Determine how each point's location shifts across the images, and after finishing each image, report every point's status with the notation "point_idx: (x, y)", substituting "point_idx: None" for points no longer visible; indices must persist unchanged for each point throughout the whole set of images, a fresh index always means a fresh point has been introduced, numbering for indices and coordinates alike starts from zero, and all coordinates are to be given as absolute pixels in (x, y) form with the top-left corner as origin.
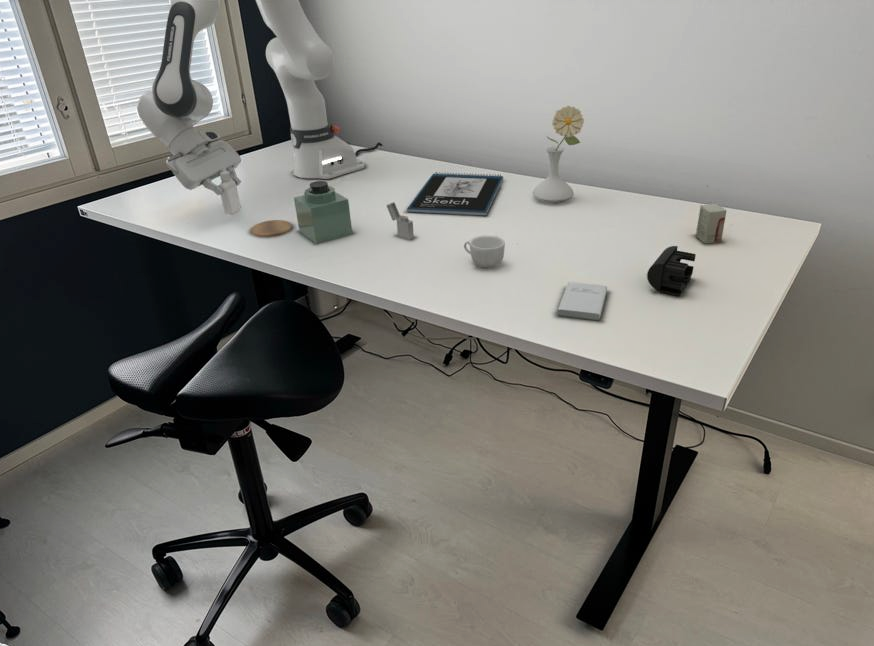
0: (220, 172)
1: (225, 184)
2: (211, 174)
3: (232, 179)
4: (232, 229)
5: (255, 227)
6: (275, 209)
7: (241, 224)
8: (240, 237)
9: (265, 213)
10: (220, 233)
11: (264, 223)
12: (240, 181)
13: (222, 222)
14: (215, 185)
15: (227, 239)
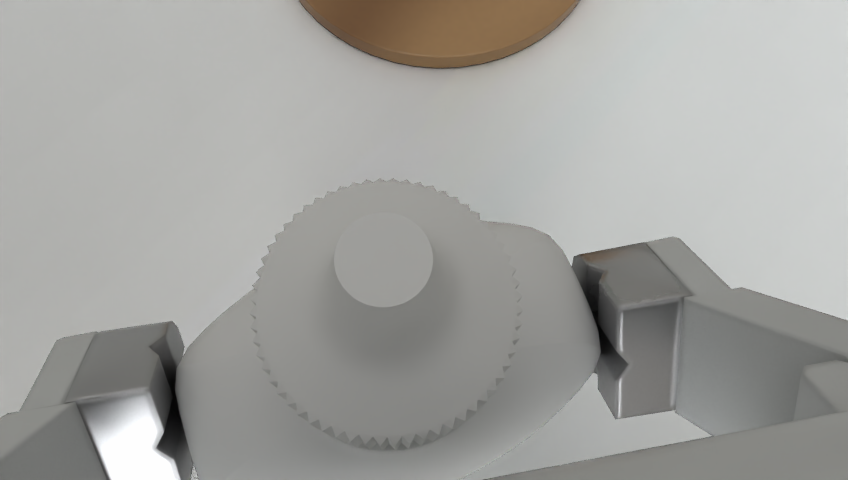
0: (457, 391)
1: (511, 253)
2: (792, 422)
3: (162, 419)
4: (613, 213)
5: (511, 16)
6: (14, 225)
7: None
8: (693, 24)
9: (148, 235)
10: (740, 238)
11: (402, 12)
12: (77, 335)
13: (542, 451)
14: (739, 296)
15: (785, 85)
